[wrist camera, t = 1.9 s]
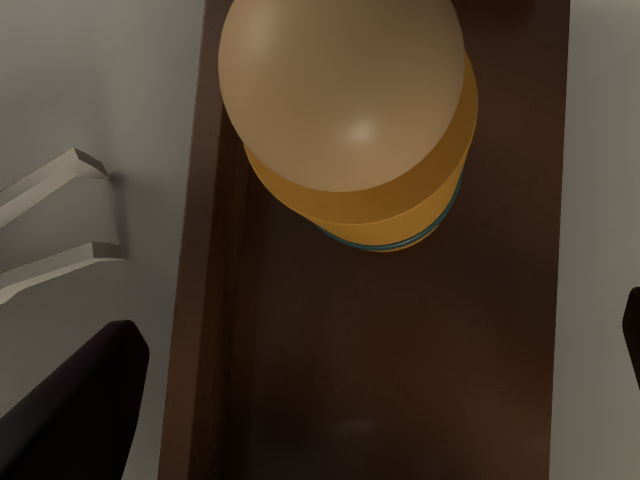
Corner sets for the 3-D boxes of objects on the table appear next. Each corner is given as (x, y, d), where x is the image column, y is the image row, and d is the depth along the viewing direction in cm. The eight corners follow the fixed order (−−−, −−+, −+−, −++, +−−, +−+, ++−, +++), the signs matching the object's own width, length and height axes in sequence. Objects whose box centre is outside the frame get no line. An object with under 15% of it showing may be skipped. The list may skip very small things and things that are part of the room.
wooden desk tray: (526, 585, 19) (567, 703, 14) (213, 529, 21) (143, 610, 16) (554, -1, 21) (601, -102, 15) (261, 6, 23) (212, -79, 18)
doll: (452, 259, 18) (508, 208, 6) (305, 249, 19) (122, 189, 7) (461, 112, 18) (529, -188, 7) (316, 109, 20) (160, -155, 8)
